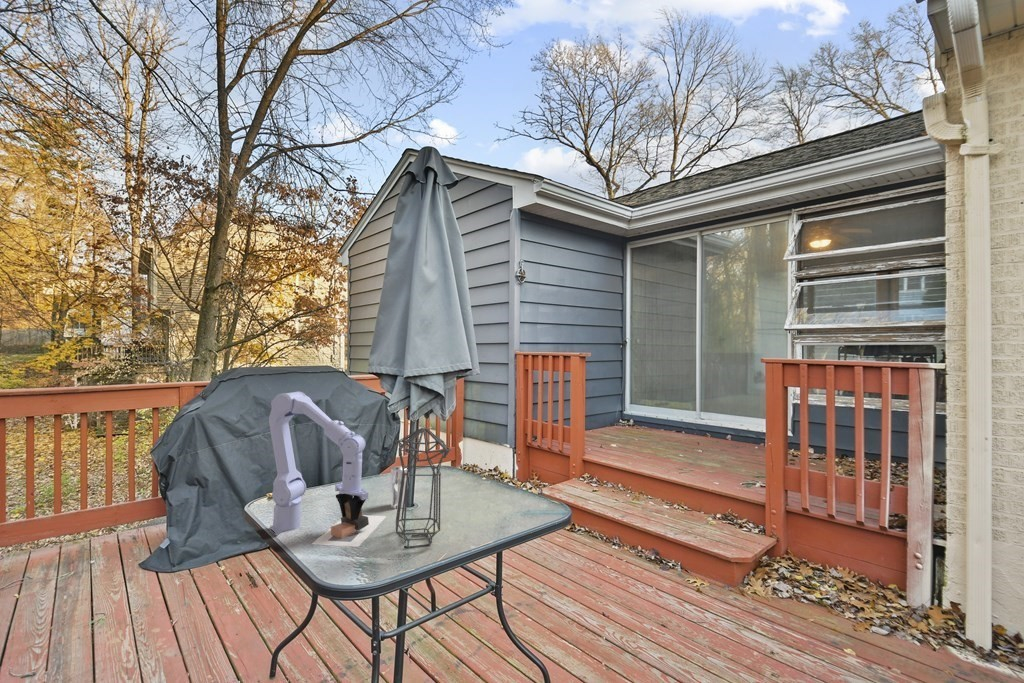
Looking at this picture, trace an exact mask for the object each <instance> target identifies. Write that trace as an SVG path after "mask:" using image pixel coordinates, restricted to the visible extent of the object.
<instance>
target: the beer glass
mask: <svg viewBox="0 0 1024 683" xmlns="http://www.w3.org/2000/svg"><path fill="white" fill-rule="evenodd" d="M404 466H405V465H404ZM404 466H403V467H404ZM402 472H403V470H402V465H398V466H396V465H395V466H393V467H391V468H390V474H389V487H390V493H391V502H390V508H392V509H393V508H394V509H398V501H399V494H400V486H401V479H402ZM404 472H405V473H407V468H405V469H404ZM406 477H407V475H405V480H404V488H403V495H402V503H401V509H403V501H404V493H405V485H406ZM404 508H405V506H404Z"/></svg>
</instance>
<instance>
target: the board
mask: <svg viewBox="0 0 1024 683" xmlns="http://www.w3.org/2000/svg"><path fill="white" fill-rule="evenodd" d="M362 515H363V516H366V517H368V521H369V525H367V526H366V527H364V528H362V529H361V530H359V531H358V530H355V534H352V535H350V536H347V537H345V538H342V539H341V538H338V537H335V536H332V535H331V527H330V528H329V529H327V531H325V532H324V533H323V534H322V535H320V536H319V537H318V538H317V539H316V540H314V541H313V542H312V543H311V545H317V546H336V547H337V546H338V547H350V548H351V547H353V548H358V547H360V546H361V545H362V544H363V542H364V541H366V539H367V538H368V537H369V536H370V535H371V534H372V533H373V532H374V530H375V529H376V528H377V527H378V526H379V525H380V524H381V523H382V522H383V521H384V520H385V518H387V515H372V514H371V515H368V514H362ZM340 523H341V519H339V520H338V521H337V522H336V523H334V525H333V526H335V525H337V524H340Z"/></svg>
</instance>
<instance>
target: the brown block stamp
mask: <svg viewBox="0 0 1024 683" xmlns="http://www.w3.org/2000/svg"><path fill="white" fill-rule="evenodd" d="M362 510H363V509H362V508H361V511H360V514H359V517H358V519H357V520H354V521H352V520H351V511H350V505H349V502H347V503H345V512H346V517H342V516H341V517H340V520H341V523H343V522H346V523H349V524H352V525H355V530H358V531H359V530H361V529H362V528H364V527H366V526H367V525H369V521H368V517H366V516H363V515H364V514H363V511H362Z"/></svg>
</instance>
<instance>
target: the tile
mask: <svg viewBox="0 0 1024 683" xmlns="http://www.w3.org/2000/svg"><path fill="white" fill-rule="evenodd" d="M334 525H335V524H334ZM330 528H331V535H332V536H335V537H338V538H341V539H342V538H345V537H347V536H350V535H352V534H355V525H352V524H349V523H346V522H343V523H340V524H337V525H335V526H331V527H330Z"/></svg>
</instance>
